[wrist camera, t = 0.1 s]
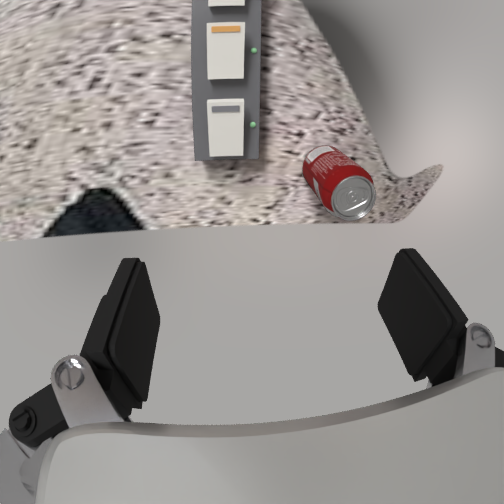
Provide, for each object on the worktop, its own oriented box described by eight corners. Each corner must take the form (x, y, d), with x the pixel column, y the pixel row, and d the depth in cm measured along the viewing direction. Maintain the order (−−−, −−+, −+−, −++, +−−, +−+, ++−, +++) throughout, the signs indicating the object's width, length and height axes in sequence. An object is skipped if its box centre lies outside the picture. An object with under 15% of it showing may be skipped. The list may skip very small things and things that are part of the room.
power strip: (199, -59, 17) (196, -73, 14) (258, -60, 18) (262, -74, 14) (198, 152, 37) (194, 162, 33) (255, 151, 37) (259, 160, 34)
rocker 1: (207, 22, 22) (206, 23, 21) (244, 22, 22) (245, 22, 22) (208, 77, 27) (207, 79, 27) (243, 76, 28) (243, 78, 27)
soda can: (296, 149, 38) (322, 178, 28) (340, 140, 37) (378, 165, 27) (305, 191, 41) (330, 231, 32) (346, 181, 41) (381, 217, 31)
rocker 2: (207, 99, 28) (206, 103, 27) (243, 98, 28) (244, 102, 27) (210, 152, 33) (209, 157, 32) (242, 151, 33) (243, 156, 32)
